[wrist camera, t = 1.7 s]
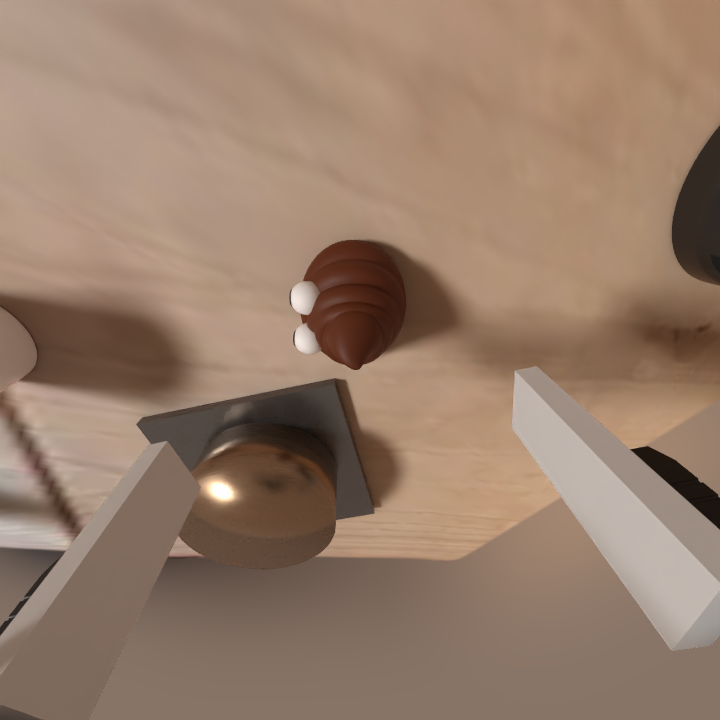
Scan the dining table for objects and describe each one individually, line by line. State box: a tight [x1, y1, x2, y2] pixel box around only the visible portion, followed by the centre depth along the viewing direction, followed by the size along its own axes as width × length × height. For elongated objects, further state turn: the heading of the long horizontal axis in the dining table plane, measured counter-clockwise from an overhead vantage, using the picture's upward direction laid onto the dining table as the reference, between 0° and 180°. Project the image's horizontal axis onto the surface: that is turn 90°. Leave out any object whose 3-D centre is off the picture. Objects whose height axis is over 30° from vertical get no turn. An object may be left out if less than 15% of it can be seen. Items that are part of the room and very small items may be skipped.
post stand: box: [136, 379, 374, 569], centre depth 31 cm, size 20×20×7 cm
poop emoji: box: [290, 240, 406, 370], centre depth 21 cm, size 10×8×9 cm
